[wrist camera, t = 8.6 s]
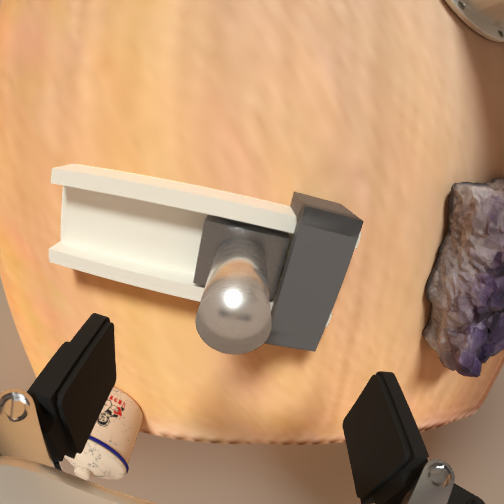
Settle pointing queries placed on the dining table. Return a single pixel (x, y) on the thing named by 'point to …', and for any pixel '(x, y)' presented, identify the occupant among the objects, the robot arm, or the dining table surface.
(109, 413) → the teacup with lid
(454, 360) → the geode
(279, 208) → the track
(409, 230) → the dining table surface
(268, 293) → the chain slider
